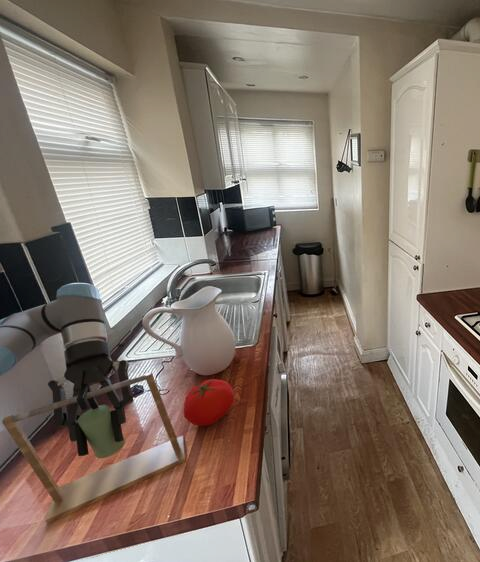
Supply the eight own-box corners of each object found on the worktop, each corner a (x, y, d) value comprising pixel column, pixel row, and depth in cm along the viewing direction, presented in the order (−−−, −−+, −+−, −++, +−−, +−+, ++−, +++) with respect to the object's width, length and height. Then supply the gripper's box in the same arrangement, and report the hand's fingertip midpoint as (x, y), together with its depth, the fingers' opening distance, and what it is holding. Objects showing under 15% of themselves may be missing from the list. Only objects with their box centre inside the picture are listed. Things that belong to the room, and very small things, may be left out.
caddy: (93, 462, 65) (61, 404, 59) (98, 445, 69) (68, 388, 63) (124, 450, 68) (96, 393, 62) (126, 434, 72) (100, 379, 66)
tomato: (209, 397, 95) (200, 369, 91) (245, 401, 93) (238, 373, 89) (177, 432, 83) (165, 402, 79) (218, 437, 81) (208, 407, 77)
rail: (47, 524, 63) (-15, 437, 54) (57, 491, 69) (4, 408, 60) (186, 461, 75) (155, 381, 66) (184, 438, 82) (156, 362, 72)
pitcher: (229, 346, 121) (212, 281, 111) (247, 364, 110) (231, 294, 99) (159, 375, 106) (132, 303, 95) (171, 400, 95) (143, 321, 84)
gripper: (138, 337, 79) (157, 428, 72) (41, 363, 70) (52, 469, 63) (130, 328, 72) (149, 426, 66) (22, 355, 63) (31, 472, 57)
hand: (101, 447), depth 64 cm, fingers closed on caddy, 5 cm apart
